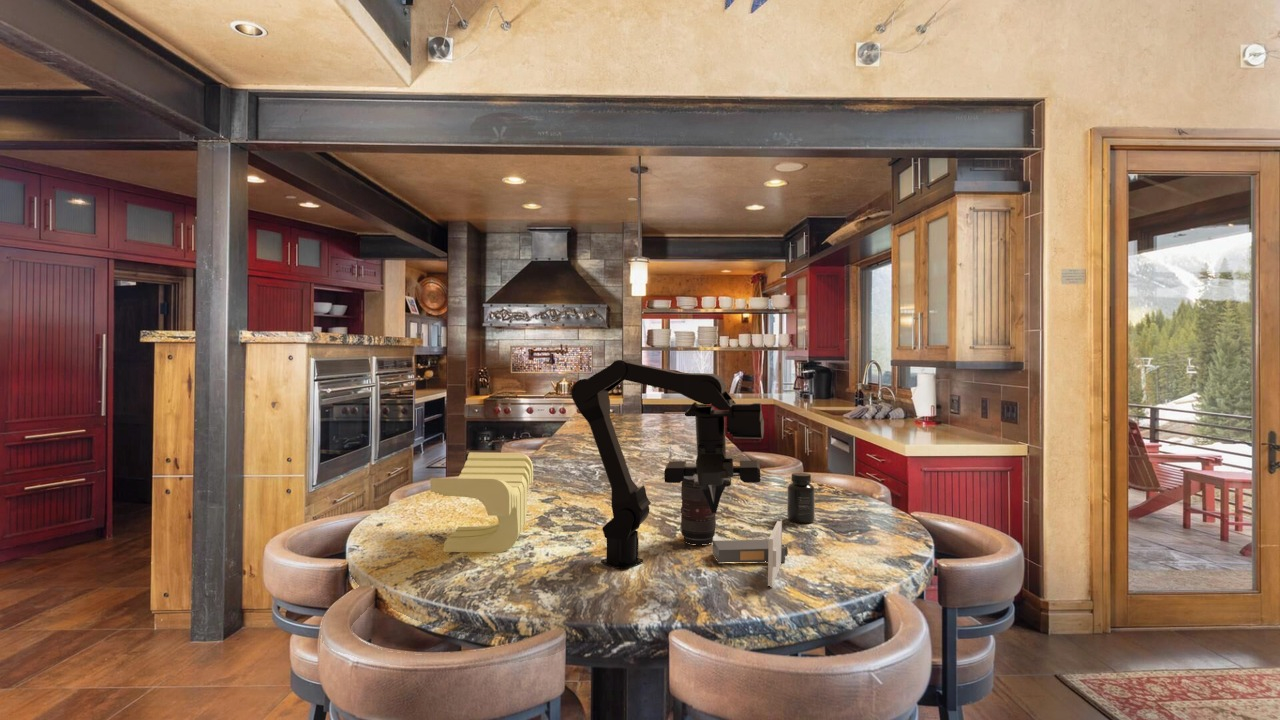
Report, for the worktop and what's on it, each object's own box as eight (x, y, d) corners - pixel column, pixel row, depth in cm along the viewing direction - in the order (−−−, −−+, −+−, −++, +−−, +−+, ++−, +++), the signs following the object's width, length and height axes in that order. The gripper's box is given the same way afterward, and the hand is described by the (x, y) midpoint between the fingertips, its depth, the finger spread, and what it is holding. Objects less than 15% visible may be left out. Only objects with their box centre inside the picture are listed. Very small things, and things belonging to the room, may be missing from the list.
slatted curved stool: (509, 565, 128) (509, 478, 127) (430, 565, 128) (430, 478, 127) (532, 523, 158) (533, 452, 157) (469, 523, 158) (469, 452, 157)
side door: (775, 588, 117) (776, 538, 117) (767, 587, 118) (768, 537, 117) (784, 564, 130) (785, 519, 130) (777, 563, 131) (777, 518, 130)
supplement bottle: (817, 519, 164) (818, 473, 163) (809, 525, 158) (810, 478, 158) (792, 515, 167) (792, 470, 167) (783, 521, 162) (784, 474, 161)
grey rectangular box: (718, 564, 130) (719, 550, 129) (712, 554, 136) (712, 540, 136) (790, 562, 131) (790, 548, 131) (781, 552, 137) (781, 539, 137)
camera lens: (714, 548, 140) (715, 481, 139) (678, 546, 141) (679, 479, 141) (717, 537, 148) (718, 474, 147) (683, 535, 149) (684, 472, 149)
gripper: (658, 449, 118) (663, 528, 120) (759, 448, 115) (762, 529, 117) (665, 434, 129) (669, 506, 131) (758, 432, 126) (760, 507, 128)
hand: (714, 512), depth 127 cm, fingers closed
